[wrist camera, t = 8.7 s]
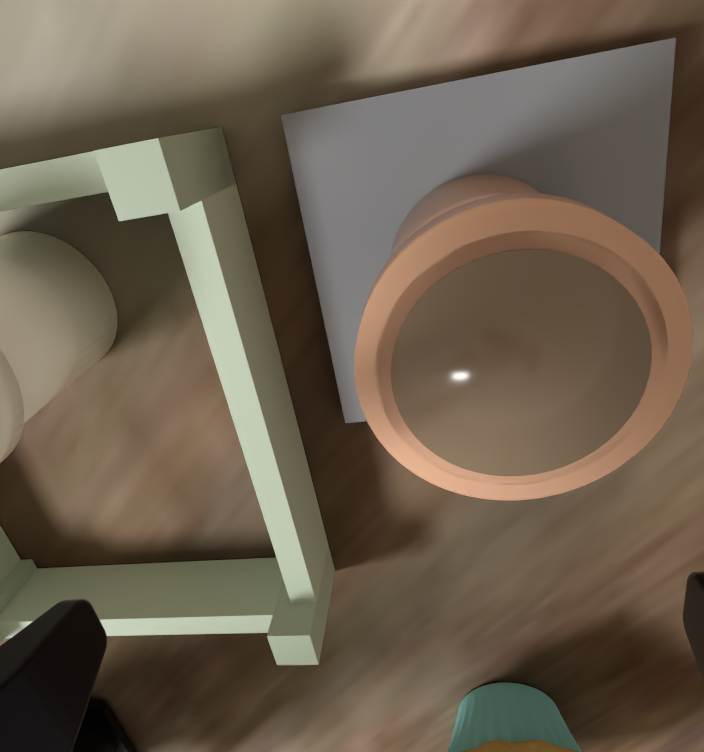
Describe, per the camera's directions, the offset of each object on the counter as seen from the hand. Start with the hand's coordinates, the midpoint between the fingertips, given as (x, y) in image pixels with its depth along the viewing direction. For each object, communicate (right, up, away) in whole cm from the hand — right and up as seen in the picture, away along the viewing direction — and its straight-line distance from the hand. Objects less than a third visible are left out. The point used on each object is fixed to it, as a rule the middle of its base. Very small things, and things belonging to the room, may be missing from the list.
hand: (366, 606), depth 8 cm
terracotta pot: (+4, +7, +8) cm, 11 cm away
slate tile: (+4, +7, +9) cm, 12 cm away
